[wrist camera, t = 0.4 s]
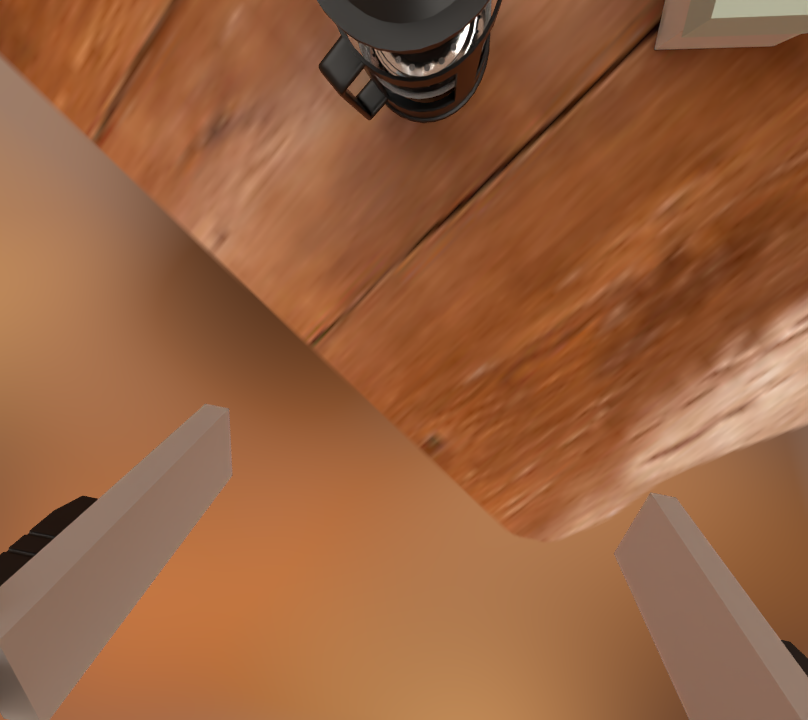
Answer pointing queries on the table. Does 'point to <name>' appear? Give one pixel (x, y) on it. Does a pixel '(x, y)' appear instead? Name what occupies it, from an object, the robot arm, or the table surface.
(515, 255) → the table surface
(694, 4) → the lid
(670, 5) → the open white box
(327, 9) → the french press
